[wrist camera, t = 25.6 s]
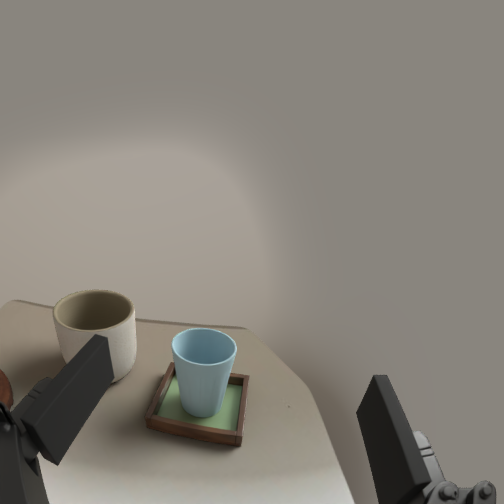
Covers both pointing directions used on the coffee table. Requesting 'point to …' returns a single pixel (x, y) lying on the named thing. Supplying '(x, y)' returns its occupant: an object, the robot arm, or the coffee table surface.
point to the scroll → (5, 390)
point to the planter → (97, 326)
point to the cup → (202, 369)
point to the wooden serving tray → (207, 429)
